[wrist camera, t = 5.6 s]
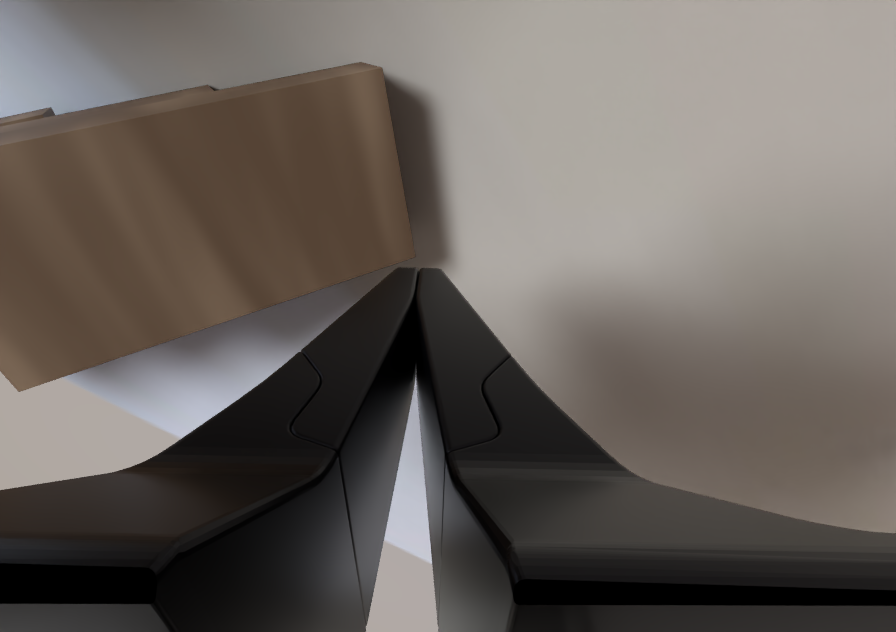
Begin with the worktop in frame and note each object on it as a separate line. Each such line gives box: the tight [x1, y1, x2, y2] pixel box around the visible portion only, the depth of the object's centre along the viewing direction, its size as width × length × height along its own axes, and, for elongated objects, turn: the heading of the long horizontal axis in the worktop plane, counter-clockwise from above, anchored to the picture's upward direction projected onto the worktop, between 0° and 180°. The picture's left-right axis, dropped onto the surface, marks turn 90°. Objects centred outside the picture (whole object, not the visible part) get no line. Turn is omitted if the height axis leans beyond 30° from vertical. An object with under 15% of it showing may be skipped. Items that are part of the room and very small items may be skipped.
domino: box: [0, 62, 415, 392], centre depth 12 cm, size 2×5×10 cm
